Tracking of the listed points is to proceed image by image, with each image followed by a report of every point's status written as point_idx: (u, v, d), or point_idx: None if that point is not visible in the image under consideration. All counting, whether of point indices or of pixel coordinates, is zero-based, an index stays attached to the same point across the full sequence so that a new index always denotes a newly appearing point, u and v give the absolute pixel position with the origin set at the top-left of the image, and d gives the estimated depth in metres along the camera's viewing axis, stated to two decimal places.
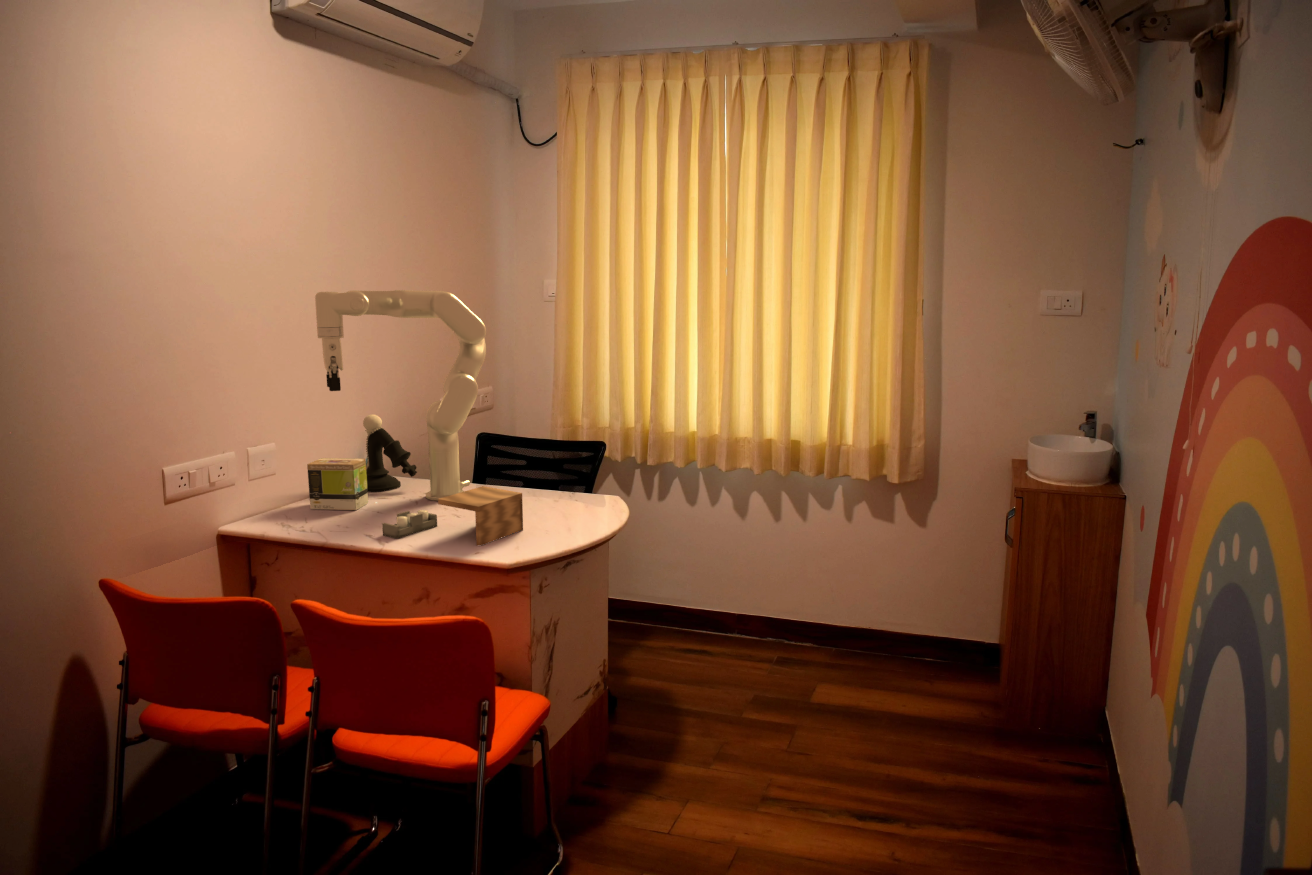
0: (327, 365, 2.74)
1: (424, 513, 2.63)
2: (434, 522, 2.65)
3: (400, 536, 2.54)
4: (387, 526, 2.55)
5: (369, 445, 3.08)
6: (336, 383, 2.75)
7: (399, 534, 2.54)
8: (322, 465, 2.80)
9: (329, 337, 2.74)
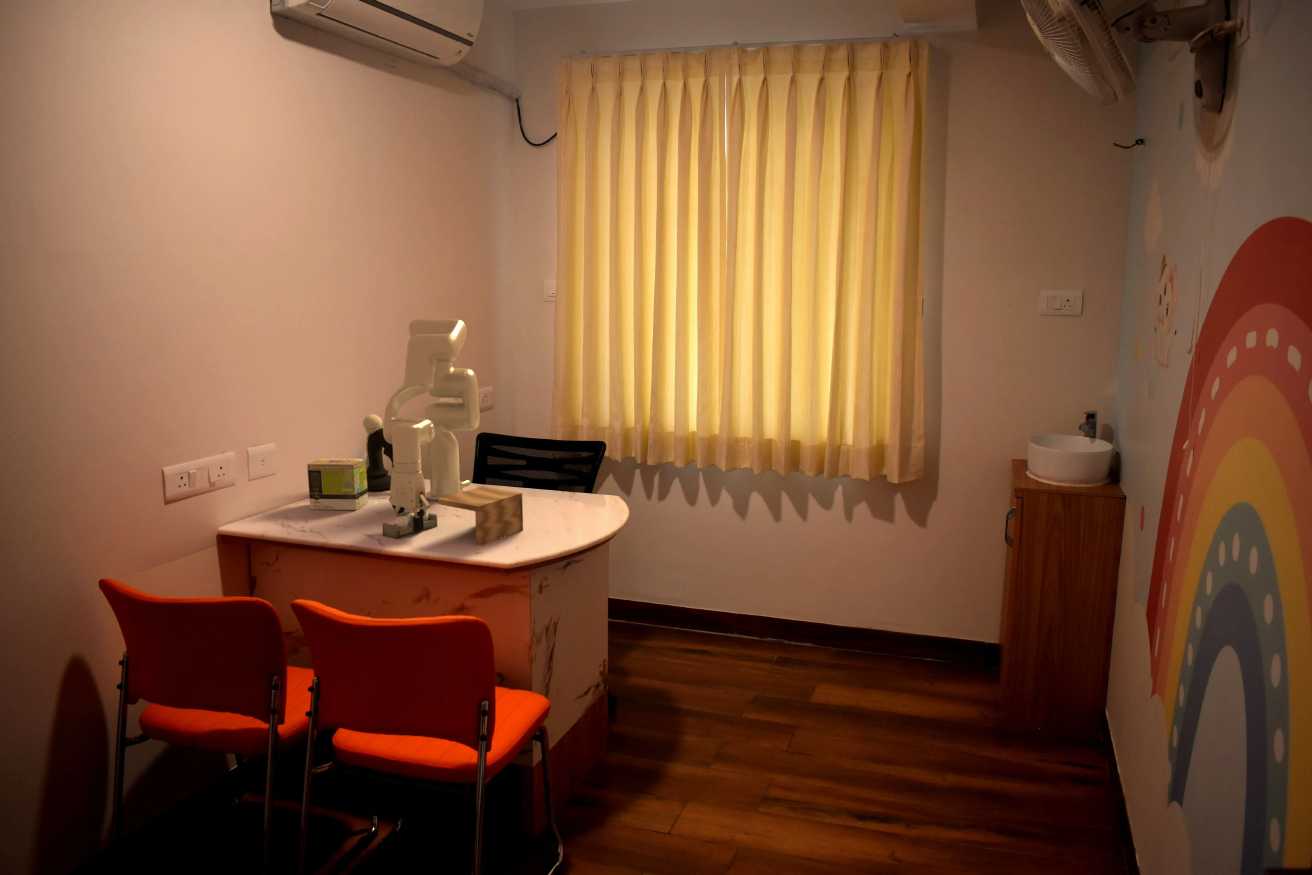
0: None
1: None
2: (434, 522, 2.65)
3: (400, 536, 2.54)
4: (387, 526, 2.55)
5: (369, 445, 3.08)
6: None
7: (399, 534, 2.54)
8: (322, 465, 2.80)
9: None
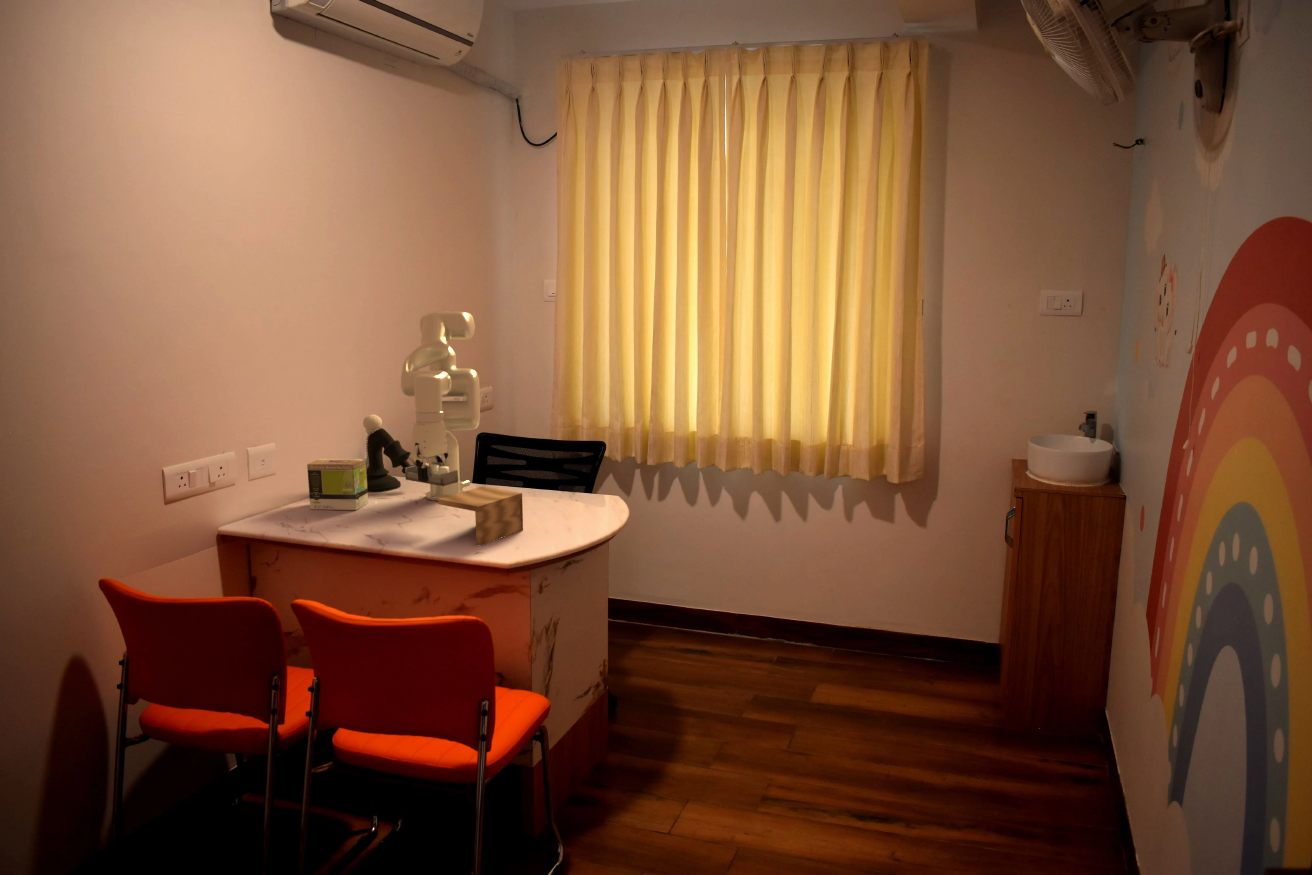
0: None
1: (438, 468, 2.61)
2: (440, 481, 2.59)
3: (408, 478, 2.66)
4: None
5: (369, 445, 3.08)
6: None
7: (406, 475, 2.66)
8: (322, 465, 2.80)
9: None
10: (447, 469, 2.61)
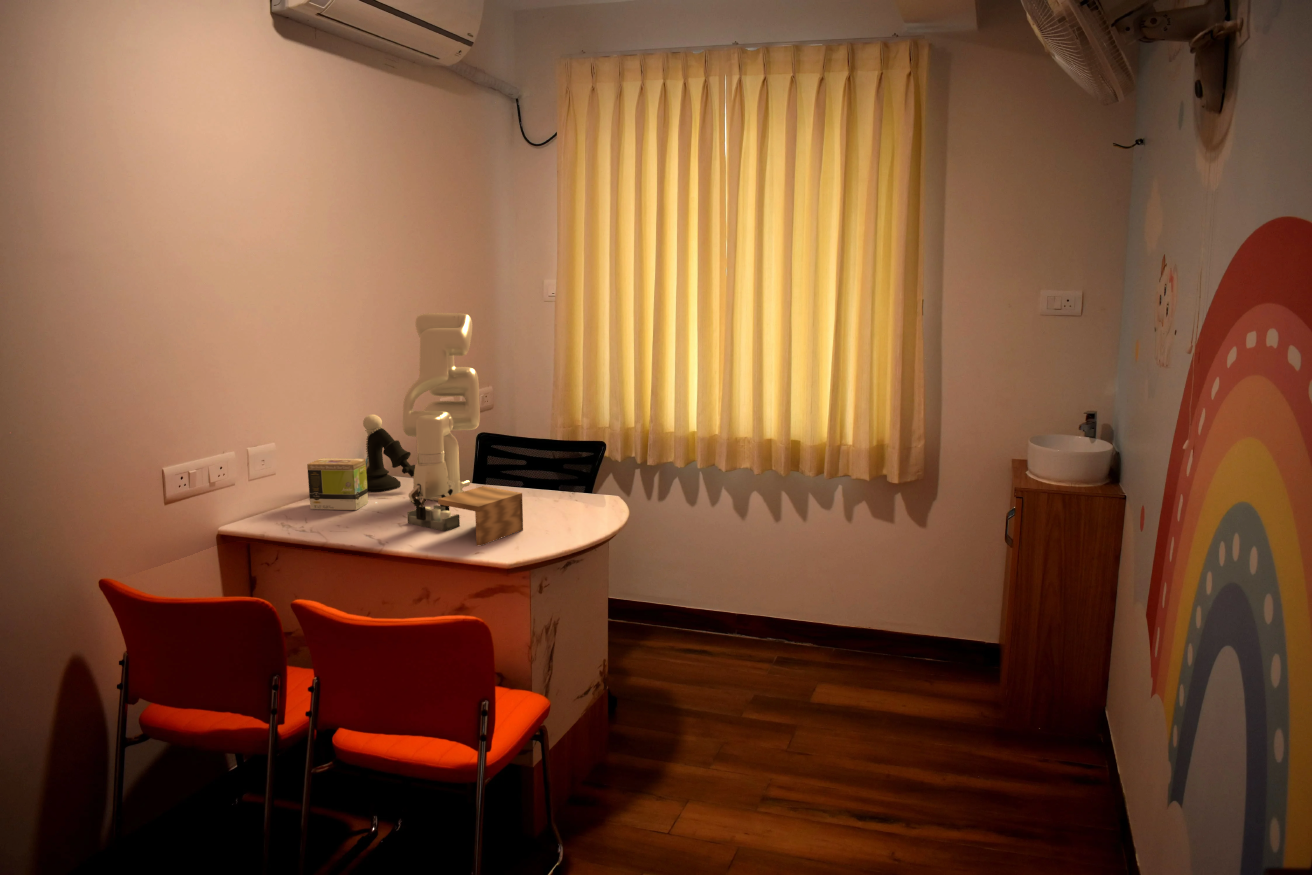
0: None
1: (440, 513, 2.63)
2: (442, 525, 2.61)
3: (410, 522, 2.68)
4: None
5: (369, 445, 3.08)
6: None
7: (409, 519, 2.68)
8: (322, 465, 2.80)
9: None
10: (449, 514, 2.63)
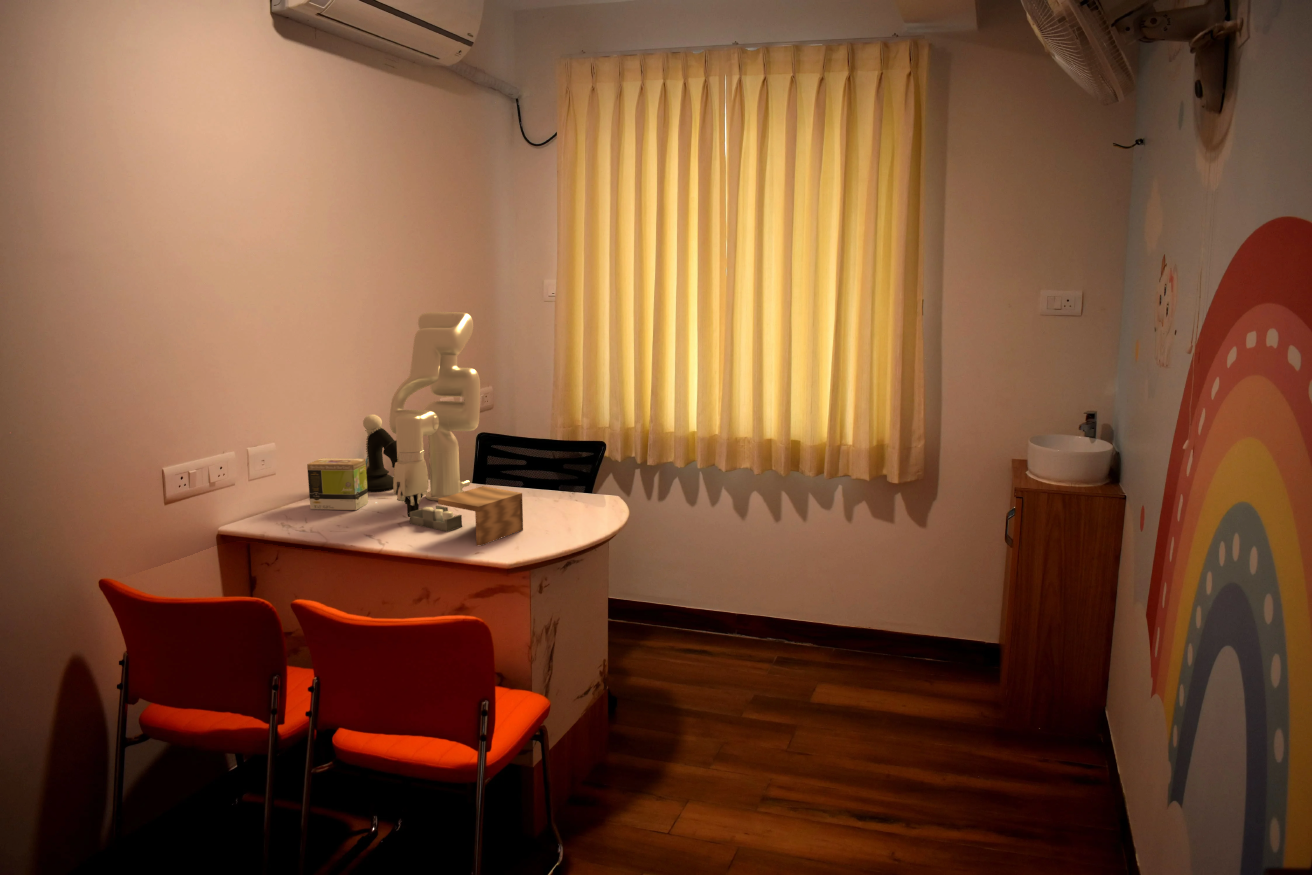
0: (428, 485, 2.73)
1: (442, 514, 2.63)
2: (445, 526, 2.61)
3: (412, 522, 2.68)
4: None
5: (369, 445, 3.08)
6: None
7: (411, 520, 2.68)
8: (322, 465, 2.80)
9: None
10: (451, 514, 2.63)
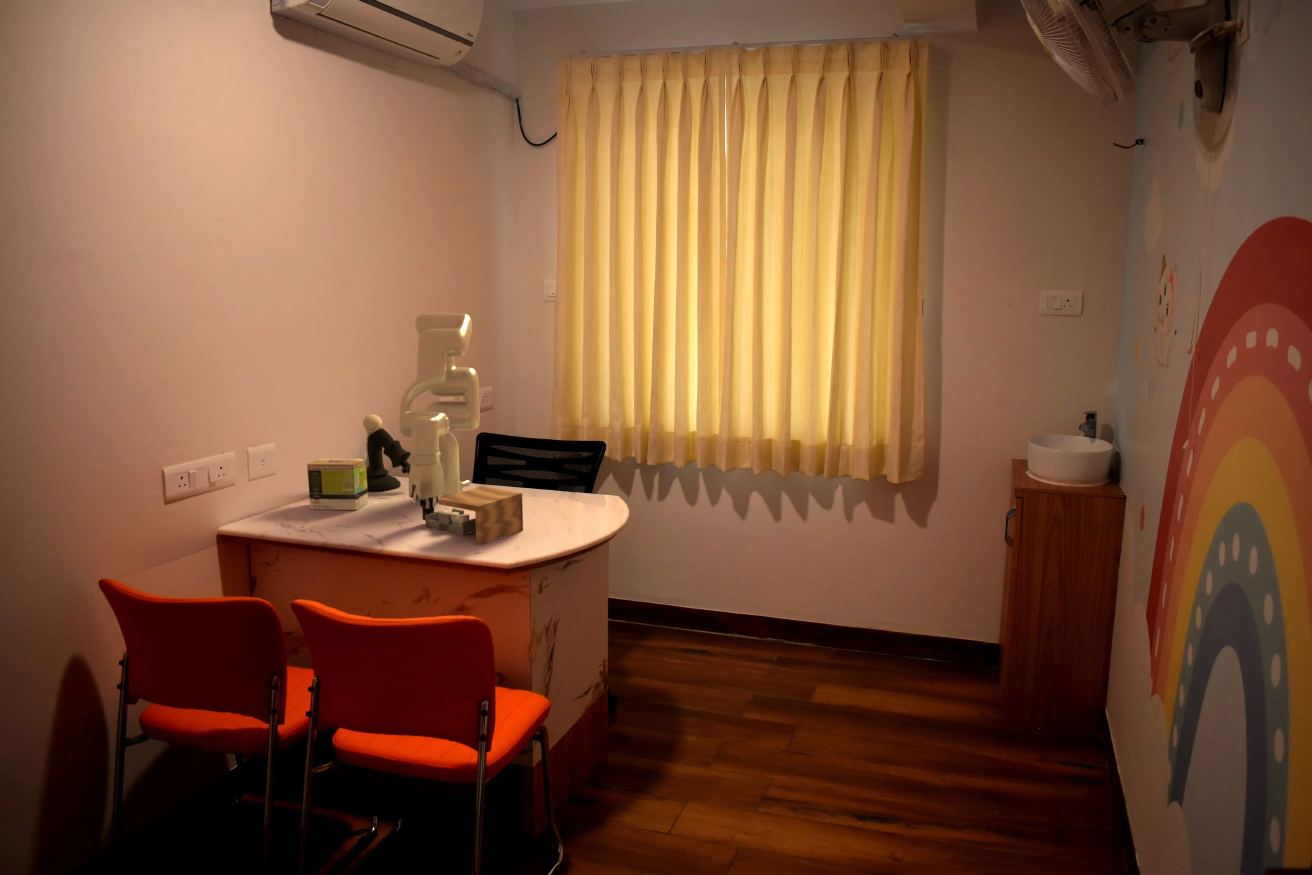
0: (443, 487, 2.70)
1: (459, 517, 2.60)
2: (461, 529, 2.58)
3: (428, 525, 2.65)
4: None
5: (369, 445, 3.08)
6: None
7: (427, 523, 2.65)
8: (322, 465, 2.80)
9: None
10: (467, 517, 2.60)
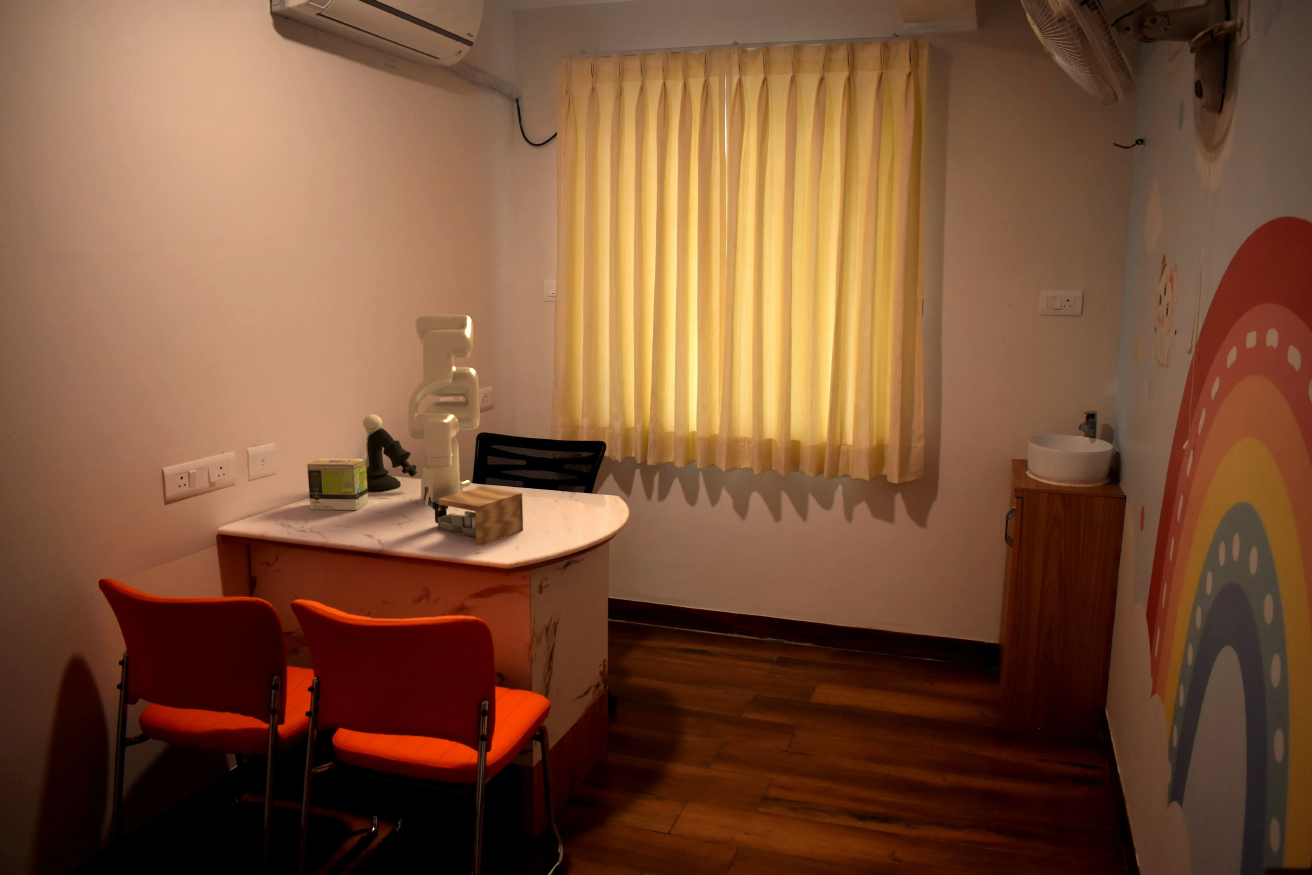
0: None
1: (472, 519, 2.57)
2: (474, 532, 2.55)
3: (440, 528, 2.62)
4: None
5: (369, 445, 3.08)
6: None
7: (439, 525, 2.62)
8: (322, 465, 2.80)
9: None
10: None
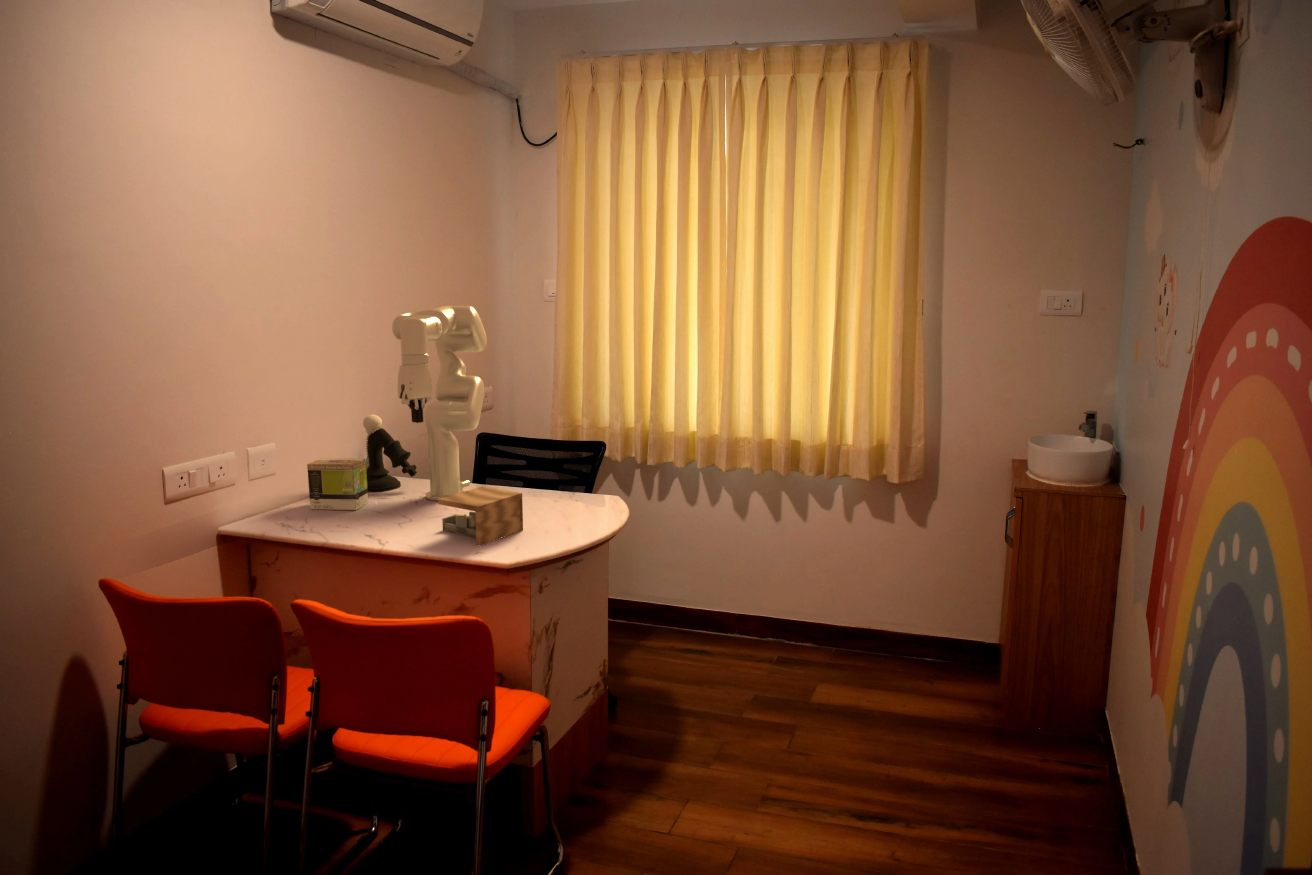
0: (432, 390, 2.71)
1: None
2: None
3: (445, 529, 2.61)
4: None
5: (369, 445, 3.08)
6: None
7: (444, 526, 2.61)
8: (322, 465, 2.80)
9: None
10: None
